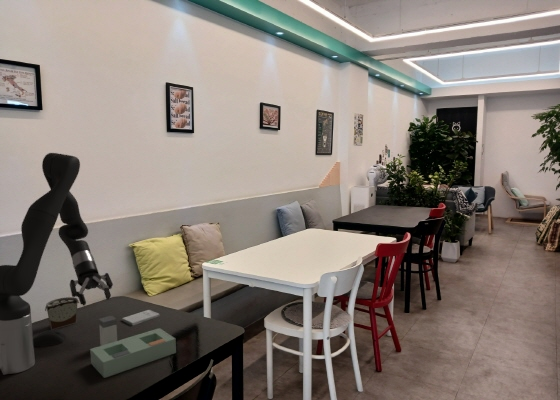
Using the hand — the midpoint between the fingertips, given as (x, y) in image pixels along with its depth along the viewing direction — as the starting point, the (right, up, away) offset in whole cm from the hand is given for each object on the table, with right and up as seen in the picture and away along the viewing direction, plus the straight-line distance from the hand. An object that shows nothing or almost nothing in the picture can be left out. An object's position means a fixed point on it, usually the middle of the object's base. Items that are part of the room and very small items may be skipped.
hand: (96, 301), depth 157 cm
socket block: (+19, -15, -15) cm, 29 cm away
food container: (-20, -13, +14) cm, 28 cm away
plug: (+7, -14, -6) cm, 17 cm away
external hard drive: (+10, -12, +19) cm, 25 cm away
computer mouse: (-17, -15, -2) cm, 23 cm away
